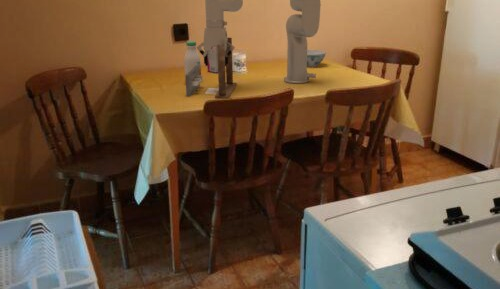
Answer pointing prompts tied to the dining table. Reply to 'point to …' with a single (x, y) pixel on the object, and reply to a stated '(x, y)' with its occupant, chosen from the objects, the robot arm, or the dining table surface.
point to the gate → (224, 82)
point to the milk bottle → (191, 58)
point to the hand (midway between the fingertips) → (216, 65)
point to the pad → (212, 91)
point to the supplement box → (212, 60)
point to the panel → (192, 80)
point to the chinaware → (314, 57)
